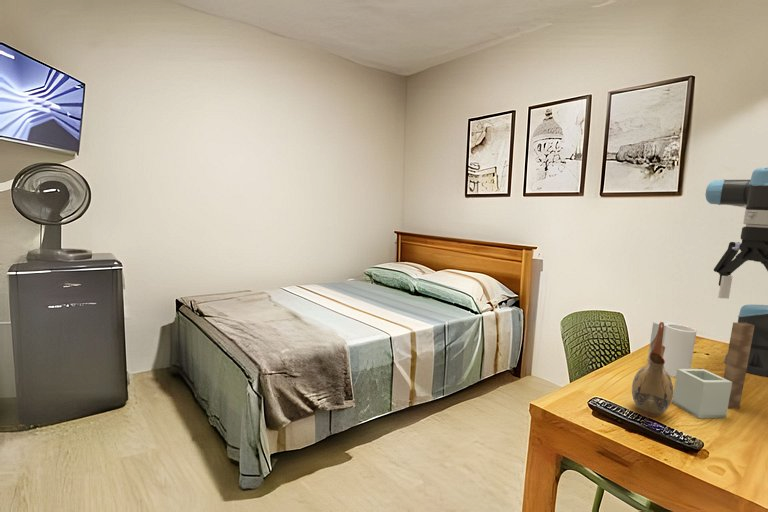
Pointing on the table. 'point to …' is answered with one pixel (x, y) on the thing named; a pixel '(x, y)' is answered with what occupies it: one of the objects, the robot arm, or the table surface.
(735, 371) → the brown wooden plank
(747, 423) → the table surface
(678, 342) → the cup
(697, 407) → the white square tube
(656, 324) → the skincare box
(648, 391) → the ceramic vessel
